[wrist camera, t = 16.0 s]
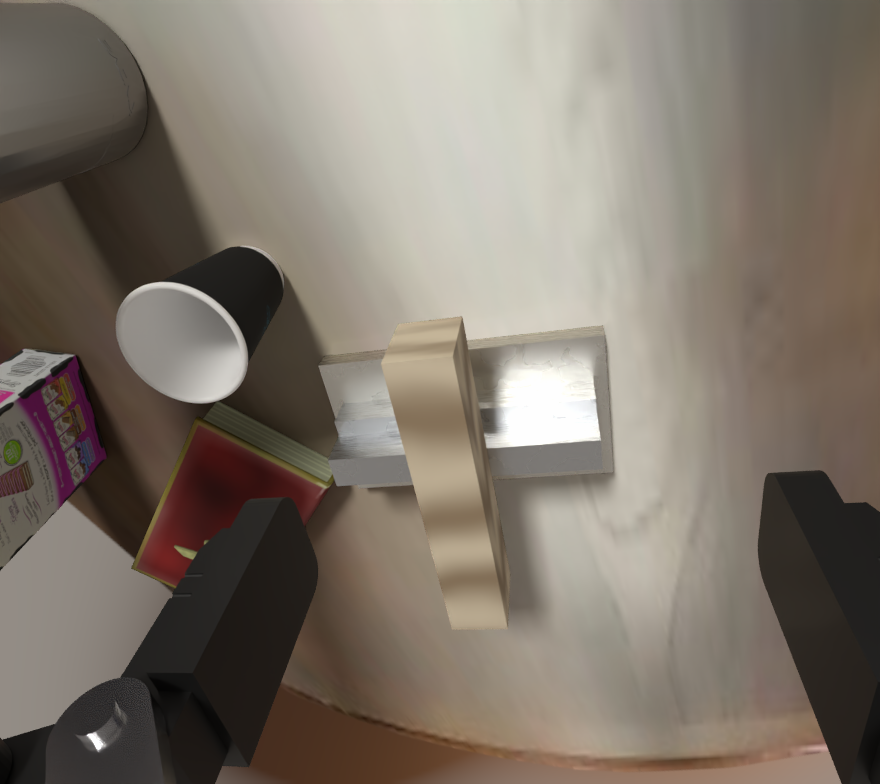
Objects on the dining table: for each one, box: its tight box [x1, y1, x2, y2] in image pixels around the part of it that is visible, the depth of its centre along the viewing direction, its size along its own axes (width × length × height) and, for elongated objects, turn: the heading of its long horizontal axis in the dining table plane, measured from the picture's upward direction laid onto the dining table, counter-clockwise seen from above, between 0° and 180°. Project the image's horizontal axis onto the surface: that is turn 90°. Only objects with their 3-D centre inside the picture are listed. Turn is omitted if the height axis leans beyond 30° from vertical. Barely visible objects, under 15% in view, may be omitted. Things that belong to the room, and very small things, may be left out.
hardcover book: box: [132, 401, 334, 588], centre depth 57 cm, size 12×21×4 cm, turn 150°
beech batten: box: [381, 317, 510, 630], centre depth 41 cm, size 22×4×5 cm, turn 11°
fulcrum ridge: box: [318, 325, 613, 488], centre depth 46 cm, size 21×12×7 cm, turn 101°
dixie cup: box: [116, 246, 284, 404], centre depth 41 cm, size 8×8×11 cm
